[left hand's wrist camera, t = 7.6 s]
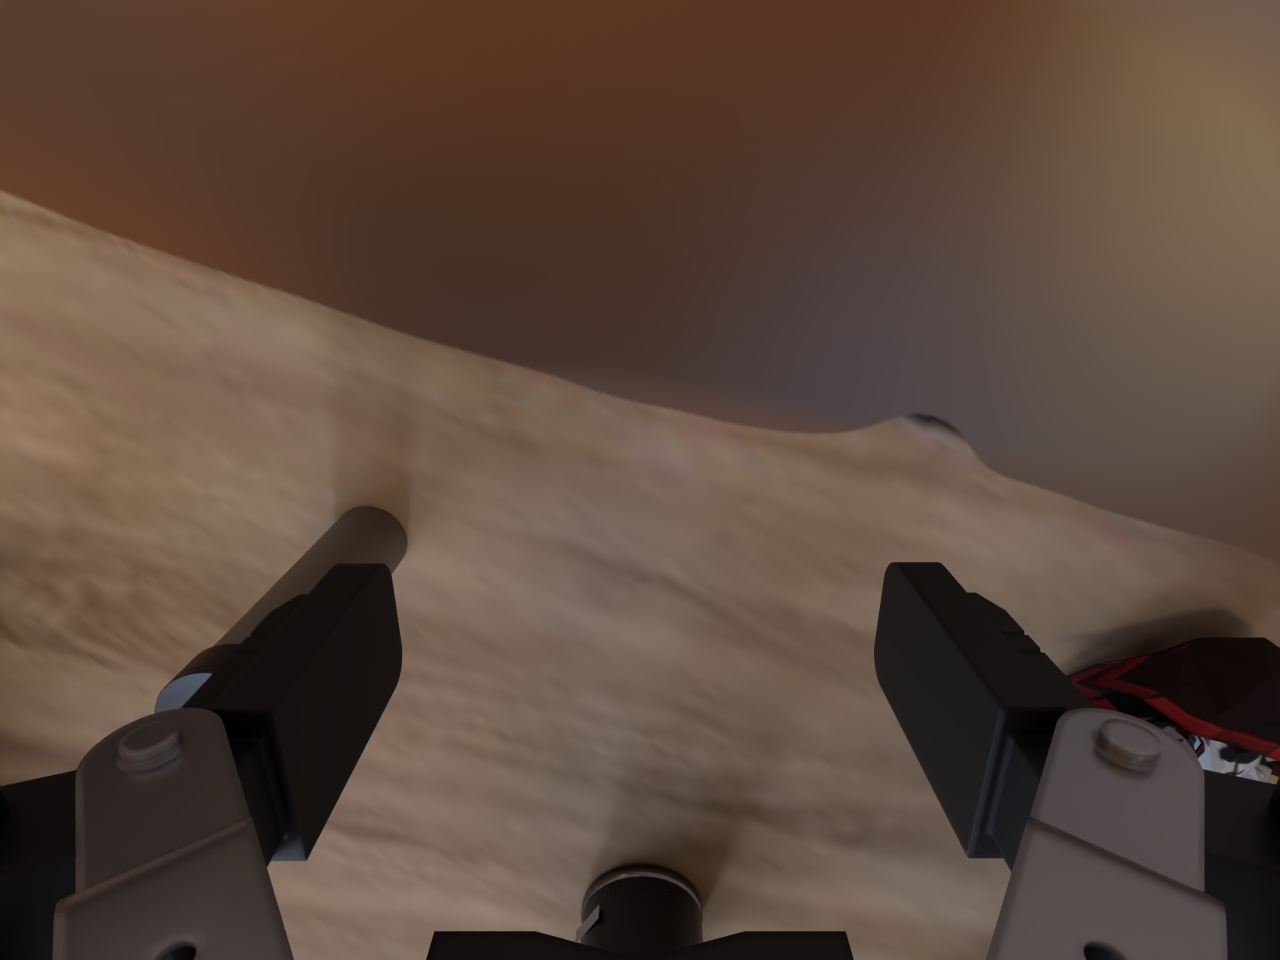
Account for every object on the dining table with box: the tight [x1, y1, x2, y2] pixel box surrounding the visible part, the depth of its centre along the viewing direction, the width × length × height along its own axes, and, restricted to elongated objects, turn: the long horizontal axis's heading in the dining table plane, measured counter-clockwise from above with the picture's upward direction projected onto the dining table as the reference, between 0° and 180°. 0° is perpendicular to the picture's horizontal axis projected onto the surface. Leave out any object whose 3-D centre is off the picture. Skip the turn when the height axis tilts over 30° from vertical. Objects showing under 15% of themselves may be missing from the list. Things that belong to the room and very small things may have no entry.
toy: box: [1066, 638, 1280, 783], centre depth 43 cm, size 12×9×15 cm
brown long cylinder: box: [213, 507, 407, 647], centre depth 36 cm, size 4×4×16 cm
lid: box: [155, 644, 240, 713], centre depth 29 cm, size 5×5×2 cm
